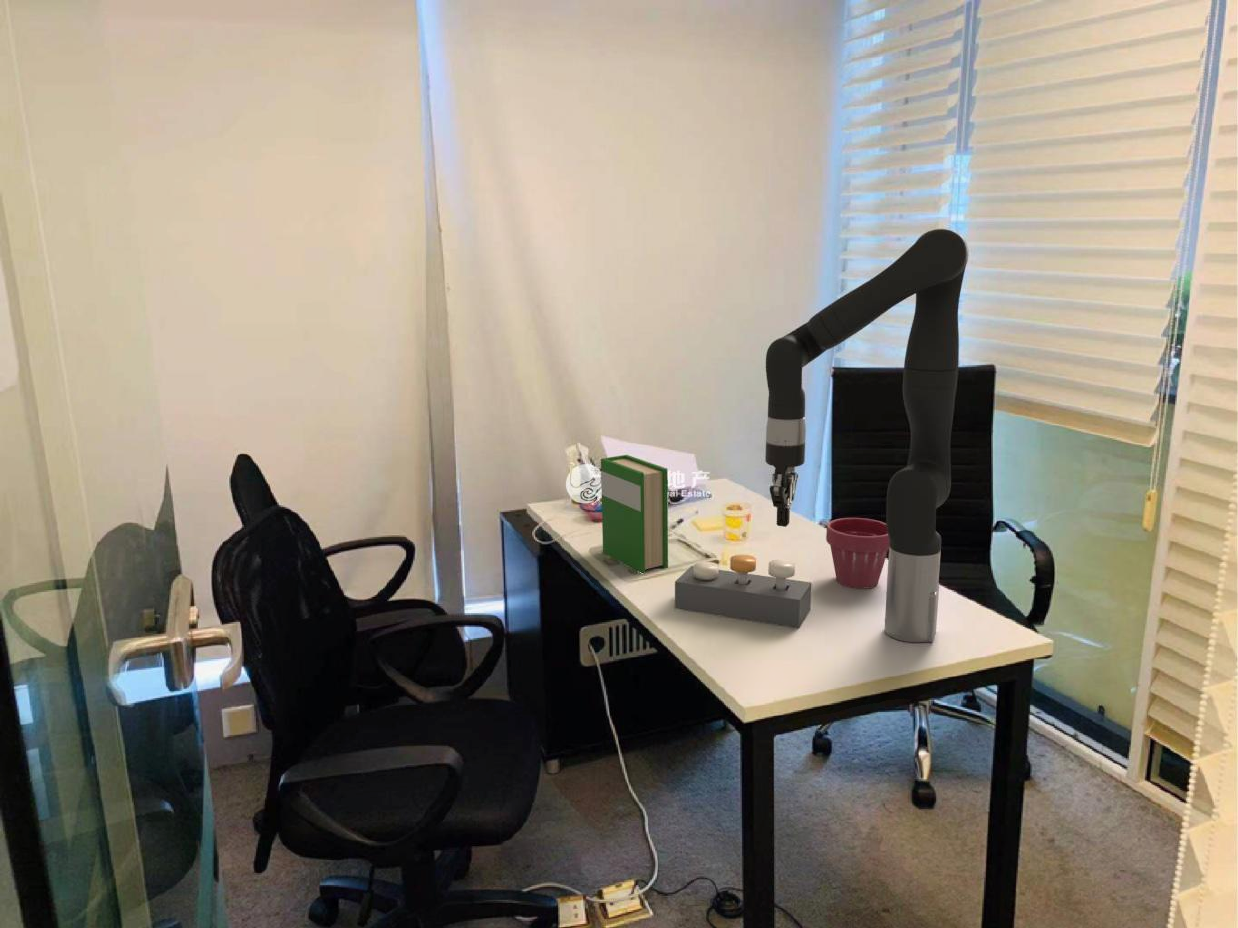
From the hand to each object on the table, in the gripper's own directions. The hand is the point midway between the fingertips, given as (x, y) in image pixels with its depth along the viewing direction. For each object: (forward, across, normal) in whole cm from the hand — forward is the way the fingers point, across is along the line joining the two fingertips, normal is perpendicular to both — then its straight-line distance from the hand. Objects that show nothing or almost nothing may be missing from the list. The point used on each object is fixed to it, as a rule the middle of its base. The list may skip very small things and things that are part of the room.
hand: (782, 525), depth 174 cm
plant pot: (+19, +25, -11) cm, 34 cm away
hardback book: (+20, +19, +41) cm, 49 cm away
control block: (+19, 0, +8) cm, 21 cm away
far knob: (+18, 0, +16) cm, 24 cm away
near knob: (+15, 0, 0) cm, 15 cm away
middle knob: (+15, 0, +8) cm, 17 cm away
